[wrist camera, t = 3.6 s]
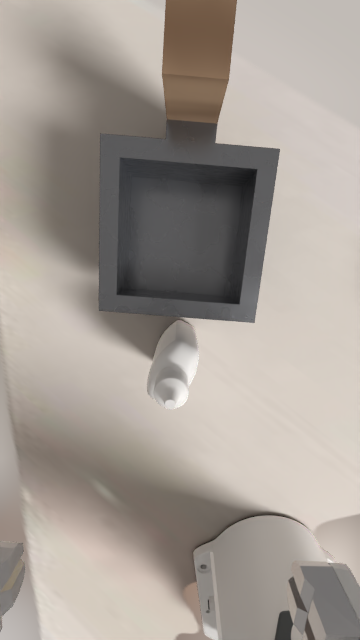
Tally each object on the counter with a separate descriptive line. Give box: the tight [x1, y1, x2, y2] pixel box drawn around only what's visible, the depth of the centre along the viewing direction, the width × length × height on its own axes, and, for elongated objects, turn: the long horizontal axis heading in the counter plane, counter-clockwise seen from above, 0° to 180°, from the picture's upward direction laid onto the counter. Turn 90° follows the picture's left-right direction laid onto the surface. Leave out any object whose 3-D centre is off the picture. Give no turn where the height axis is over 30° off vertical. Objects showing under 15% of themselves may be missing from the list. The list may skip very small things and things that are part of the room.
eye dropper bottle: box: [147, 320, 199, 410], centre depth 23 cm, size 4×6×12 cm
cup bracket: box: [99, 0, 280, 323], centre depth 19 cm, size 15×11×13 cm
